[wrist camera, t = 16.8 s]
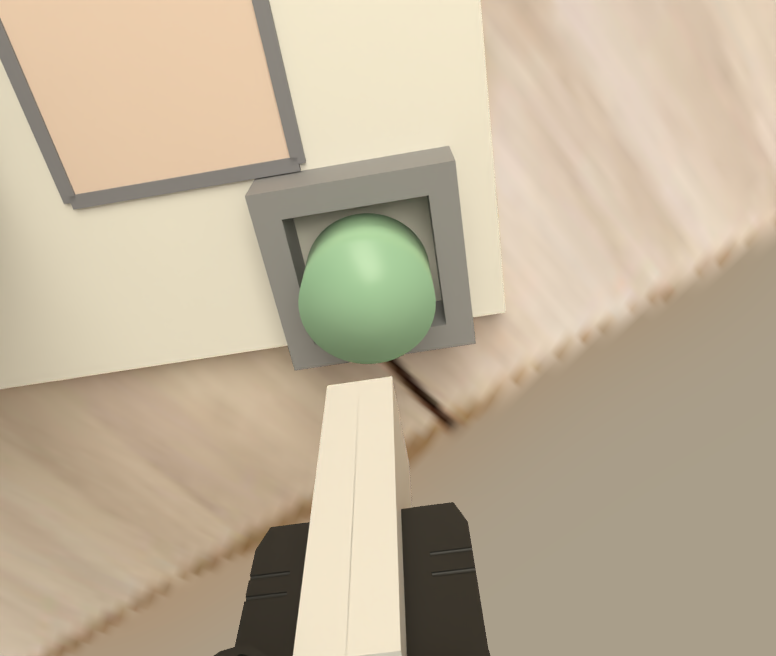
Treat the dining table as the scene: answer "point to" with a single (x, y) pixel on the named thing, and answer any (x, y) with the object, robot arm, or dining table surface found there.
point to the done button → (367, 289)
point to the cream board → (229, 171)
